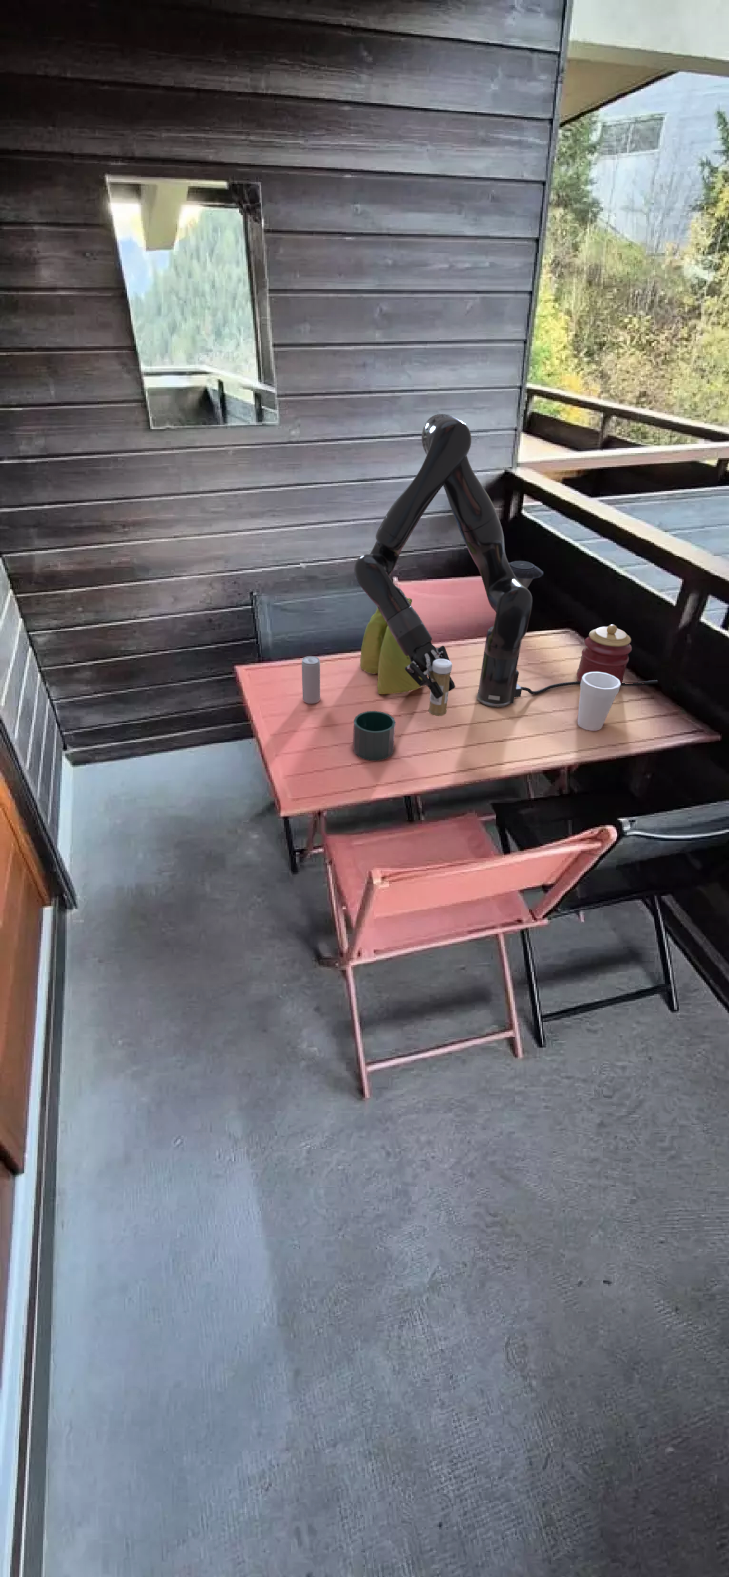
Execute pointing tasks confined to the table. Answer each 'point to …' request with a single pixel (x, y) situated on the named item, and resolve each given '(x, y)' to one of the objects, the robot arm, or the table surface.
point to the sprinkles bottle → (442, 678)
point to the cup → (373, 735)
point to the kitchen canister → (605, 652)
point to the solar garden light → (525, 572)
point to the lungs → (385, 657)
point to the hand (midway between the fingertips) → (446, 692)
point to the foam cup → (596, 699)
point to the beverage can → (311, 679)
